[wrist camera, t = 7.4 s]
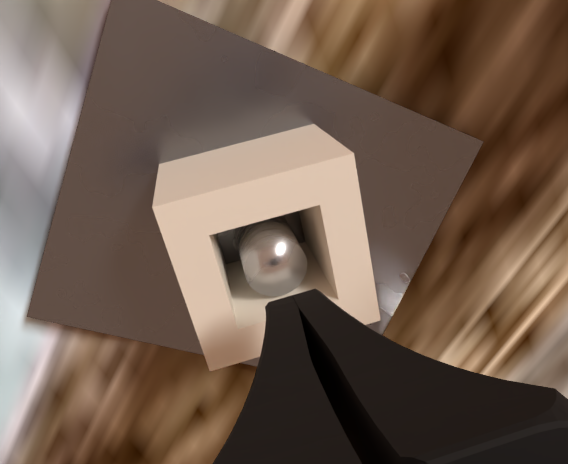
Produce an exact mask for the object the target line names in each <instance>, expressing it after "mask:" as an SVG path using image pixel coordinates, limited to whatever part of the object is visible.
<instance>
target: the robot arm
mask: <svg viewBox="0 0 568 464" xmlns="http://www.w3.org/2000/svg"><path fill="white" fill-rule="evenodd" d="M265 310H266V325H265V334H264V339H263V345H262V350H261V355H260V359H259V362H258V366H257V370H256V373H255V377H254V380H253V383H252V386H251V389H250V391H249V394H248V397H247V399H246V402H245V404H244V407H243V409H242V411H241V413H240V415H239V417H238V419H237V422H236V424H235V426H234V428H233V430H232V432H231V434H230V436H229V437H228V439H227V441H226V443H225V444H224V446H223V448H222V449H221V451H220V453H219V454H218V456H217V457H216V459H215V461H214V462H213V464H568V399H567V398H566V397H564V396H563V395H562V394H561V393H559V392H558V391H557V390H556V389H554V388H548V387H542V386H536V385H530V384H525V383H519V382H513V381H507V380H503V379H498V378H494V377H490V376H486V375H482V374H478V373H474V372H471V371H467V370H464V369H460V368H457V367H454V366H451V365H448V364H445V363H443V362H440V361H437V360H434V359H431V358H429V357H426V356H424V355H421V354H419V353H416V352H414V351H412V350H410V349H408V348H405V347H403V346H401V345H399V344H397V343H395V342H393V341H391V340H389V339H388V338H386V337H384V336H382V335H381V334H379V333H377V332H375V331H374V330H372V329H371V328H369V327H367V326H366V325H364V324H363V323H361V322H360V321H358V320H357V319H355V318H354V317H353V316H351V315H350V314H348V313H347V312H345V311H344V310H343V309H341V308H340V307H339V306H337V305H336V304H335V303H334V302H332V301H331V300H330V299H329V298H327V297H326V296H325V295H324V294H323V293H322V292H321V291H319V290H317V289H312V290H308V291H305V292H302V293H298V294H295V295H291V296H288V297H284V298H281V299H278V300H274V301H271V302H268V303H267V305H266V306H265Z"/></svg>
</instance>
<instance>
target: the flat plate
mask: <svg viewBox="0 0 568 464" xmlns="http://www.w3.org/2000/svg"><path fill="white" fill-rule="evenodd" d="M311 124H315V125H316V126H318V127H319V128H320V129H322V130H323V131H324V132H326V133H327V134H329V135H330V136H331V137H333V138H334V139H335V140H337V141H338V142H339V143H341V144H342V145H343V146H345V147H346V148H348V149H349V150H350V151H352V152H353V153H354V157H355V163H356V169H357V176H358V182H359V188H360V194H361V201H362V207H363V213H364V219H365V226H366V232H367V238H368V244H369V251H370V257H371V263H372V269H373V276H374V282H375V288H376V294H377V301H378V307H379V313H380V319H381V320H380V321H377V322H373V323H370V324H367V325H366V326H367V327H369V328H371V329H372V330H374V331H375V332H377V333H379V334H381V335H383V333H384V331H385V329H386V327H387V325H388V324H389V322H390V320H391V318H392V316H393V314H394V312H395V310H396V308H397V306H398V304H399V302H400V301H401V299H402V297H403V295H404V293H405V291H406V289H407V287H408V285H409V283H410V281H411V280H412V278H413V276H414V274H415V272H416V270H417V268H418V266H419V264H420V262H421V260H422V259H423V257H424V255H425V253H426V251H427V249H428V247H429V245H430V243H431V241H432V239H433V237H434V236H435V234H436V232H437V230H438V228H439V226H440V224H441V222H442V220H443V218H444V216H445V215H446V213H447V211H448V209H449V207H450V205H451V203H452V201H453V199H454V197H455V195H456V194H457V192H458V190H459V188H460V186H461V184H462V182H463V180H464V178H465V176H466V174H467V172H468V171H469V169H470V167H471V165H472V163H473V161H474V159H475V157H476V155H477V153H478V151H479V150H480V148H481V146H482V144H483V141H481V140H479V139H476V138H474V137H472V136H470V135H467V134H465V133H463V132H460V131H458V130H456V129H453V128H451V127H449V126H446V125H444V124H442V123H439V122H437V121H435V120H432V119H430V118H428V117H426V116H423V115H421V114H419V113H416V112H414V111H412V110H409V109H407V108H405V107H402V106H400V105H398V104H395V103H393V102H391V101H389V100H386V99H384V98H382V97H379V96H377V95H375V94H372V93H370V92H368V91H365V90H363V89H361V88H358V87H356V86H354V85H351V84H349V83H347V82H345V81H342V80H340V79H338V78H335V77H333V76H331V75H328V74H326V73H324V72H321V71H319V70H317V69H314V68H312V67H310V66H307V65H305V64H303V63H301V62H298V61H296V60H294V59H291V58H289V57H287V56H284V55H282V54H280V53H277V52H275V51H273V50H270V49H268V48H266V47H264V46H261V45H259V44H257V43H254V42H252V41H250V40H247V39H245V38H243V37H240V36H238V35H236V34H233V33H231V32H229V31H226V30H224V29H222V28H220V27H217V26H215V25H213V24H210V23H208V22H206V21H203V20H201V19H199V18H196V17H194V16H192V15H189V14H187V13H185V12H182V11H180V10H178V9H176V8H173V7H171V6H169V5H166V4H164V3H162V2H159V1H157V0H111V4H110V7H109V11H108V15H107V19H106V22H105V26H104V30H103V34H102V37H101V41H100V45H99V49H98V52H97V56H96V60H95V64H94V67H93V71H92V75H91V78H90V82H89V86H88V90H87V93H86V97H85V101H84V105H83V108H82V112H81V116H80V120H79V123H78V127H77V131H76V135H75V138H74V142H73V146H72V149H71V153H70V157H69V161H68V164H67V168H66V172H65V176H64V179H63V183H62V187H61V191H60V194H59V198H58V202H57V206H56V209H55V213H54V217H53V220H52V224H51V228H50V232H49V235H48V239H47V243H46V247H45V250H44V254H43V258H42V262H41V265H40V269H39V273H38V277H37V280H36V284H35V288H34V291H33V295H32V299H31V303H30V306H29V310H28V314H27V317H31V318H35V319H40V320H45V321H49V322H54V323H58V324H63V325H68V326H72V327H77V328H81V329H86V330H91V331H95V332H100V333H105V334H109V335H114V336H118V337H123V338H128V339H132V340H137V341H141V342H146V343H151V344H155V345H160V346H164V347H169V348H174V349H178V350H183V351H187V352H192V353H197V354H201V355H204V353H203V350H202V348H201V345H200V342H199V339H198V336H197V333H196V331H195V328H194V325H193V322H192V319H191V316H190V314H189V311H188V308H187V305H186V302H185V299H184V296H183V294H182V291H181V288H180V285H179V282H178V279H177V277H176V274H175V271H174V268H173V265H172V262H171V260H170V257H169V254H168V251H167V248H166V245H165V243H164V240H163V237H162V234H161V231H160V228H159V226H158V223H157V220H156V217H155V214H154V211H153V208H152V205H153V199H154V192H155V186H156V180H157V174H158V168H159V164H161V163H165V162H169V161H173V160H177V159H181V158H184V157H188V156H192V155H196V154H200V153H204V152H207V151H211V150H215V149H219V148H223V147H227V146H230V145H234V144H238V143H242V142H246V141H250V140H253V139H257V138H261V137H265V136H269V135H273V134H276V133H280V132H284V131H288V130H292V129H296V128H299V127H303V126H307V125H311ZM217 237H218V240H219V243H220V247H221V250H222V253H223V257H224V260H225V263H226V264H228V263H232V262H236V261H239V260H241V262H242V265H243V269H244V273H245V277H246V280H247V282H248V284H249V285H250V286H251V288H252V289H254V290H255V291H256V292H258V293H260V294H262V295H266V296H281V295H284V294H287V293H289V292H291V291H293V290H294V289H295V288H297V287H298V286H299V285H300V283H301V282H302V281H303V279H304V277H305V275H306V272H307V259H306V256H305V254H304V252H303V250H302V248H301V246H300V244H299V243H303V242H305V237H304V233H303V228H302V224H301V219H300V215H299V211H296V212H292V213H288V214H285V215H281V216H278V217H274V218H270V219H267V220H263V221H259V222H256V223H252V224H249V225H245V226H241V227H238V228H234V229H230V230H227V231H223V232H220V233H217ZM259 359H260V357H257V358H254V359H250V360H247V361H244V362H240V363H243V364H247V365H252V366H258V362H259Z"/></svg>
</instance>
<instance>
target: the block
mask: <svg viewBox="0 0 568 464" xmlns="http://www.w3.org/2000/svg"><path fill="white" fill-rule="evenodd" d="M152 208H153V211H154V214H155V217H156V220H157V223H158V226H159V228H160V231H161V234H162V237H163V240H164V243H165V245H166V248H167V251H168V254H169V257H170V260H171V262H172V265H173V268H174V271H175V274H176V277H177V279H178V282H179V285H180V288H181V291H182V294H183V296H184V299H185V302H186V305H187V308H188V311H189V314H190V316H191V319H192V322H193V325H194V328H195V331H196V333H197V336H198V339H199V342H200V345H201V348H202V350H203V353H204V356H205V359H206V362H207V365H208V367H209V370H210V371H214V370H217V369H220V368H224V367H227V366H230V365H234V364H237V363H240V362H244V361H247V360H250V359H254V358H257V357H260V355H261V350H262V345H263V339H264V334H265V325H266V310H265V306H266V305H267V303H268V302H271V301H274V300H278V299H281V298H284V297H288V296H291V295H295V294H298V293H302V292H305V291H308V290H312V289H317V290H319V291H321V292H322V293H323V294H324V295H325V296H326V297H327V298H329V299H330V300H331V301H332V302H334V303H335V304H336V305H337V306H339V307H340V308H341V309H343V310H344V311H345V312H347V313H348V314H350V315H351V316H353V317H354V318H355V319H357V320H358V321H360V322H361V323H363V324H364V325H367V324H370V323H373V322H377V321H380V320H381V319H380V313H379V307H378V301H377V294H376V288H375V282H374V276H373V269H372V263H371V257H370V251H369V244H368V238H367V232H366V226H365V219H364V213H363V207H362V201H361V194H360V188H359V182H358V176H357V169H356V163H355V157H354V153H353V152H352V151H350V150H349V149H348V148H346V147H345V146H343V145H342V144H341V143H339V142H338V141H337V140H335V139H334V138H333V137H331V136H330V135H329V134H327V133H326V132H324V131H323V130H322V129H320V128H319V127H318V126H316V125H315V124H311V125H307V126H303V127H299V128H296V129H292V130H288V131H284V132H280V133H276V134H273V135H269V136H265V137H261V138H257V139H253V140H250V141H246V142H242V143H238V144H234V145H230V146H227V147H223V148H219V149H215V150H211V151H207V152H204V153H200V154H196V155H192V156H188V157H184V158H181V159H177V160H173V161H169V162H165V163H161V164H159V168H158V174H157V180H156V186H155V192H154V199H153V205H152ZM296 211H299V215H300V219H301V224H302V228H303V233H304V237H305V242H303V243H299V244H300V246H301V248H302V250H303V252H304V254H305V256H306V259H307V272H306V275H305V277H304V279H303V281H302V282H301V283H300V285H299V286H298V287H297V288H295V289H294V290H293V291H291V292H289V293H287V294H284V295H281V296H266V295H262V294H260V293H258V292H256V291H255V290H254V289H252V288H251V286H250V285H249V284H248V282H247V280H246V277H245V273H244V269H243V265H242V262H241V260H239V261H236V262H232V263H228V264H226V263H225V260H224V257H223V253H222V250H221V247H220V243H219V240H218V237H217V233H220V232H223V231H227V230H230V229H234V228H238V227H241V226H245V225H249V224H252V223H256V222H259V221H263V220H267V219H270V218H274V217H278V216H281V215H285V214H288V213H292V212H296Z"/></svg>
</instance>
